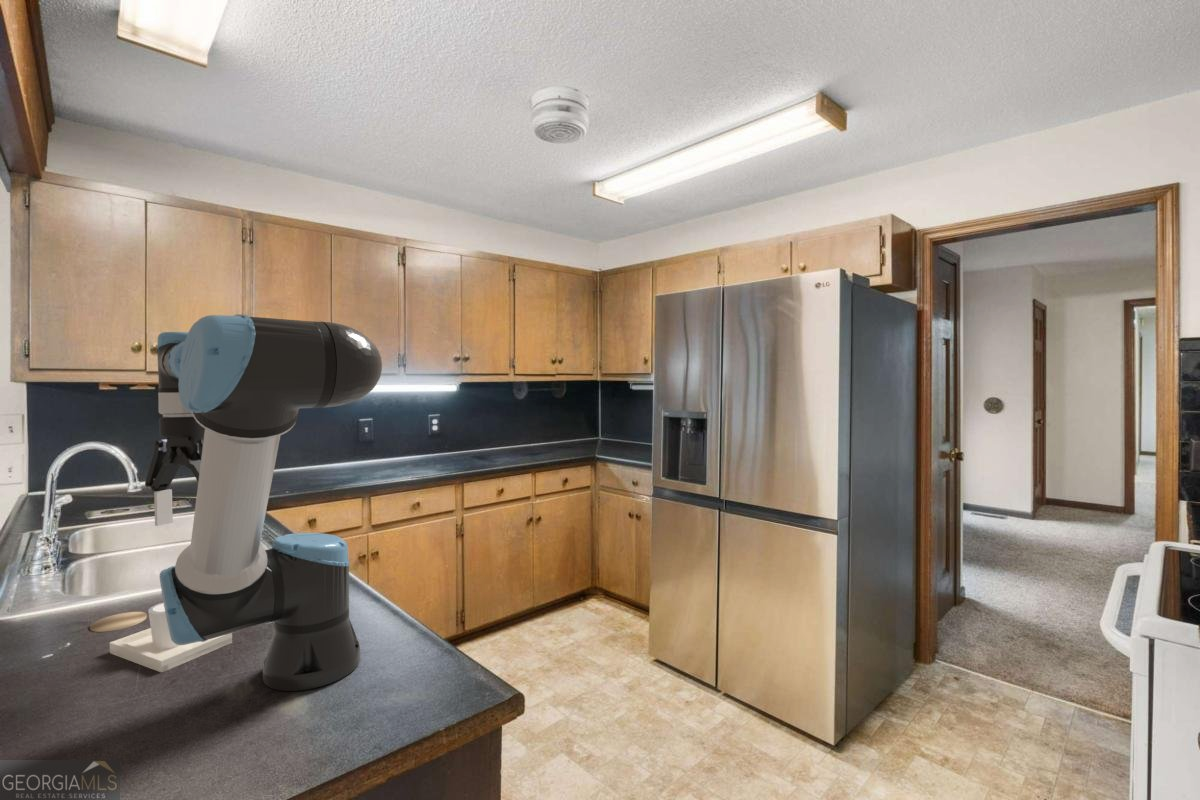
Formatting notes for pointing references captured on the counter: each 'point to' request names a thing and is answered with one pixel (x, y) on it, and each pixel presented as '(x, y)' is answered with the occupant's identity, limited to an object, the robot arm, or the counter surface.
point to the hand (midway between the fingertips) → (187, 527)
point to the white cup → (160, 628)
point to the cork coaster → (118, 621)
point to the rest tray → (162, 660)
